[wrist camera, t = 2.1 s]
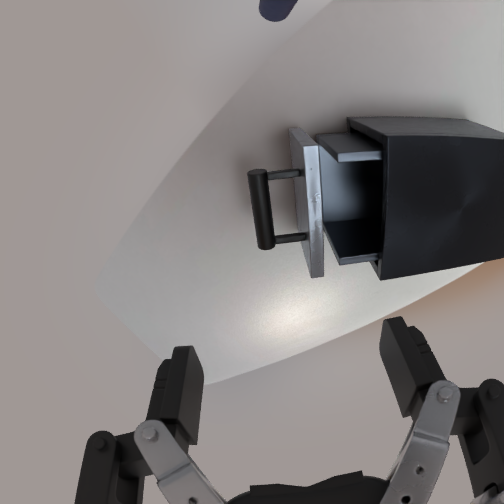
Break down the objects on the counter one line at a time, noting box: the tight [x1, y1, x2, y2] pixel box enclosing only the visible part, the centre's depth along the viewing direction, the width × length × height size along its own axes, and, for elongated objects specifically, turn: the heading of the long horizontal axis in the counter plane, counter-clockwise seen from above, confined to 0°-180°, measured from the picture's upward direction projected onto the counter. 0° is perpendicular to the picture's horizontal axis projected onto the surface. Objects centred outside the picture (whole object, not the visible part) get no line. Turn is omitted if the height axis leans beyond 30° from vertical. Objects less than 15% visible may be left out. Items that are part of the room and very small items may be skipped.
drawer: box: [247, 128, 383, 278], centre depth 28 cm, size 19×12×8 cm, turn 98°
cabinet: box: [347, 116, 504, 281], centre depth 27 cm, size 16×13×10 cm
